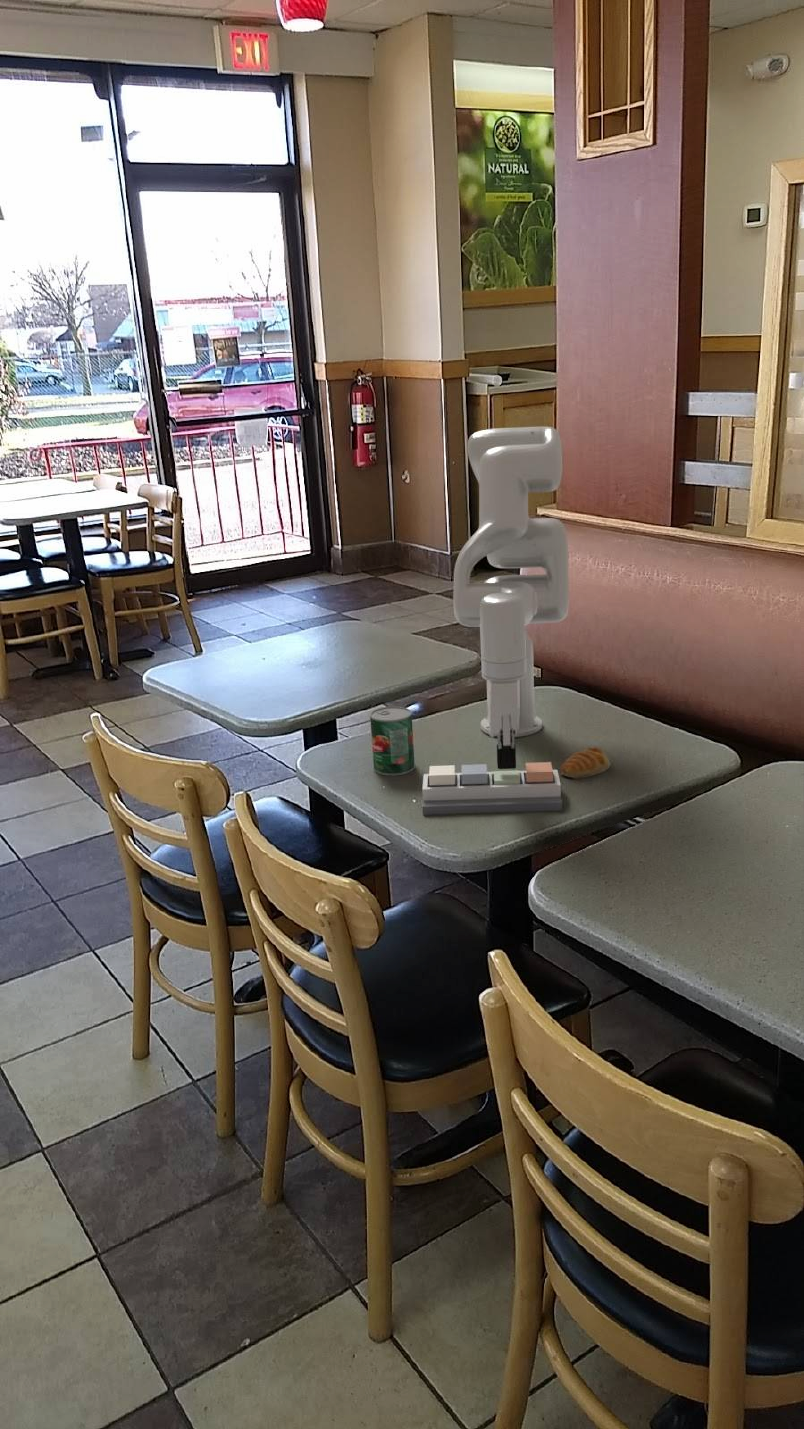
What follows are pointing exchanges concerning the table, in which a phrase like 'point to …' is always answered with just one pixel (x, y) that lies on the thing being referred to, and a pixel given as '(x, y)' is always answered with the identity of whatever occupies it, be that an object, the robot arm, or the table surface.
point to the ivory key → (442, 775)
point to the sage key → (506, 777)
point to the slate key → (474, 774)
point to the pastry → (585, 763)
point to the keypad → (491, 796)
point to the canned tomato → (392, 740)
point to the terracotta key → (539, 772)
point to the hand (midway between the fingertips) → (506, 766)
